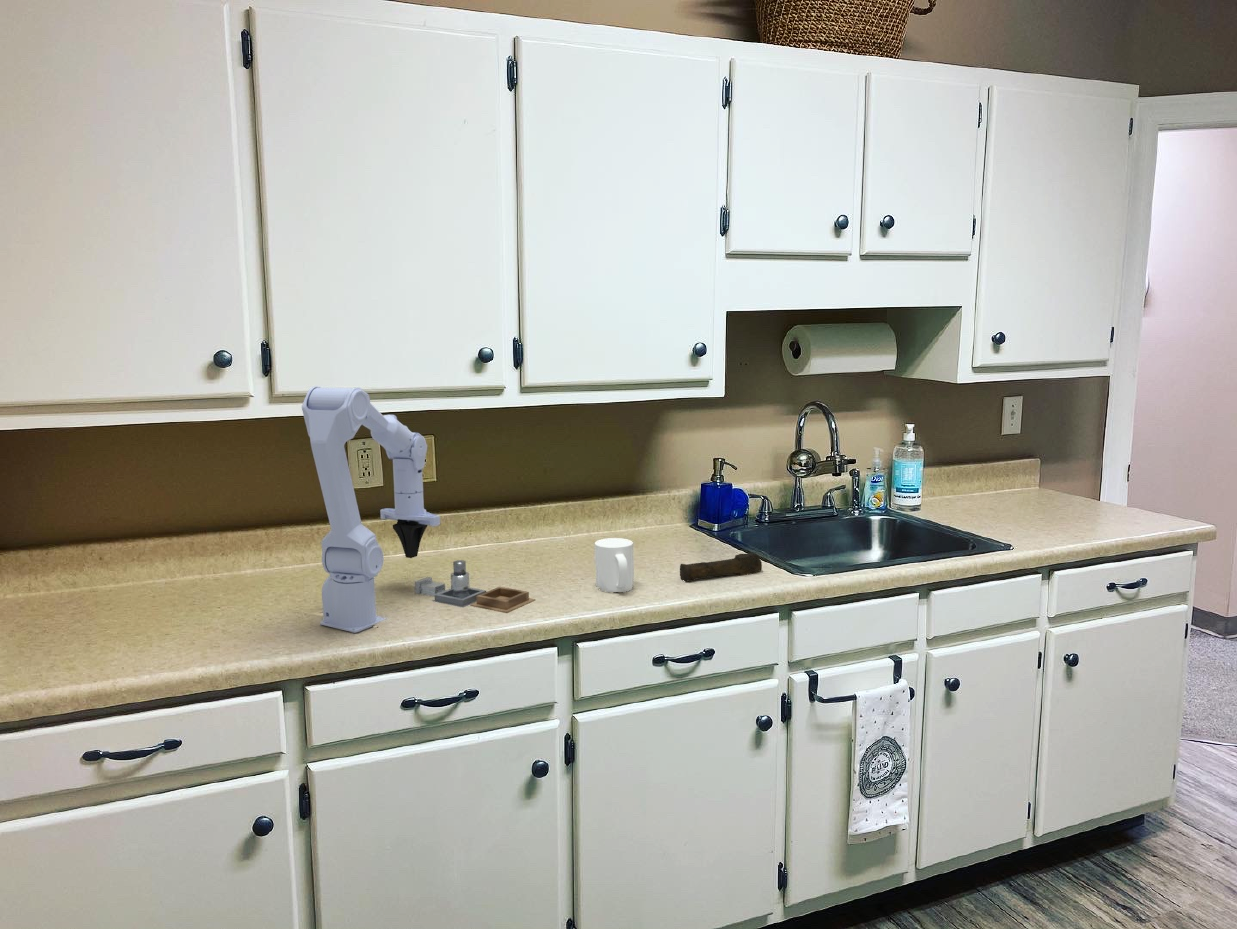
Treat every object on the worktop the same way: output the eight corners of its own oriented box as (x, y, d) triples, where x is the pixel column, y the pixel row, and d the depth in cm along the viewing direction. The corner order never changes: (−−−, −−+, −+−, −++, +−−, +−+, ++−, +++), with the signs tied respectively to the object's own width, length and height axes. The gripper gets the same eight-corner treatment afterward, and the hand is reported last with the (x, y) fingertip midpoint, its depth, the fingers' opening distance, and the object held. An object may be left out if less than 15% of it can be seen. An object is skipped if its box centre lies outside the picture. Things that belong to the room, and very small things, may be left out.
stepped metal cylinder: (447, 599, 189) (446, 562, 188) (459, 594, 192) (458, 558, 191) (461, 602, 187) (460, 565, 186) (473, 597, 190) (472, 561, 189)
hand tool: (685, 584, 200) (685, 563, 200) (678, 579, 204) (678, 558, 203) (767, 576, 206) (767, 555, 206) (758, 571, 210) (759, 550, 209)
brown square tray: (470, 608, 185) (469, 596, 185) (499, 596, 193) (498, 584, 192) (507, 616, 181) (506, 603, 180) (535, 603, 188) (535, 591, 188)
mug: (589, 538, 201) (625, 535, 203) (589, 581, 202) (626, 578, 205) (604, 553, 189) (643, 549, 192) (605, 598, 191) (643, 594, 193)
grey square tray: (431, 603, 188) (431, 594, 188) (458, 593, 195) (458, 584, 195) (463, 610, 184) (462, 601, 184) (489, 599, 191) (489, 590, 191)
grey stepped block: (415, 595, 193) (414, 581, 193) (428, 590, 197) (427, 576, 196) (434, 599, 191) (433, 585, 190) (446, 594, 194) (446, 580, 194)
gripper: (449, 491, 192) (451, 556, 195) (396, 484, 200) (399, 548, 202) (425, 497, 186) (427, 565, 189) (371, 490, 194) (374, 555, 196)
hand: (411, 556), depth 195 cm, fingers closed
